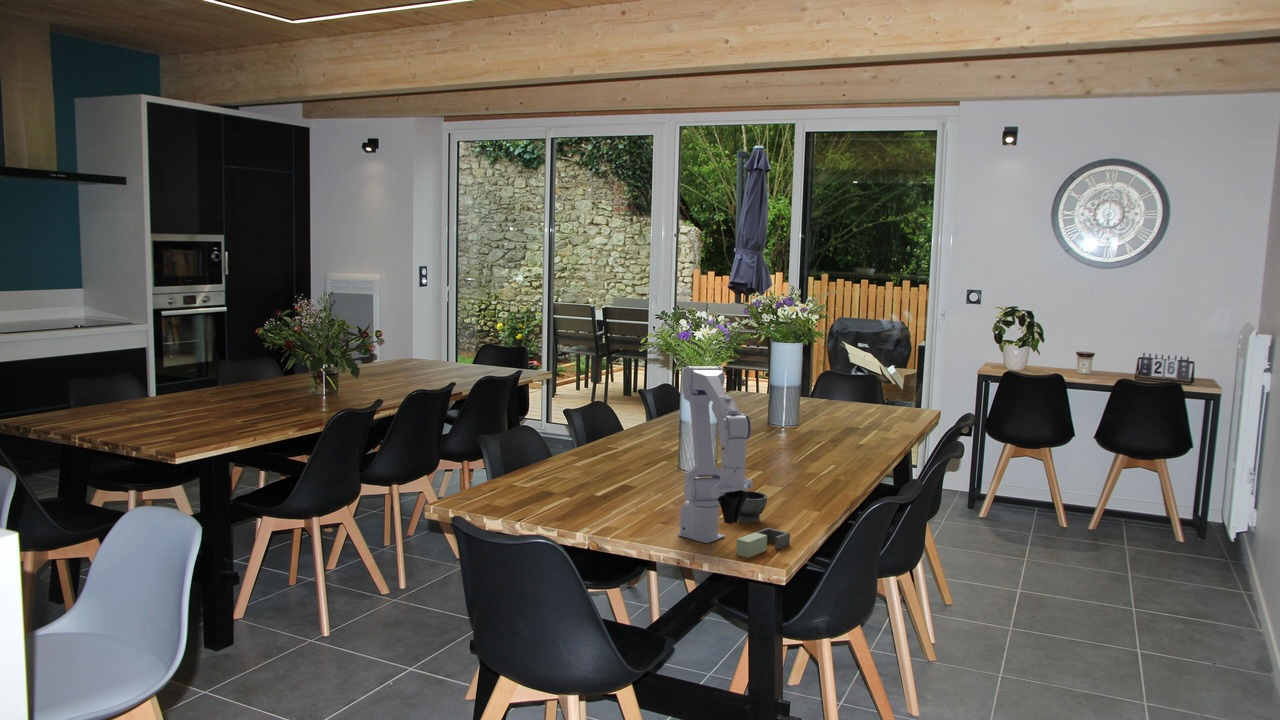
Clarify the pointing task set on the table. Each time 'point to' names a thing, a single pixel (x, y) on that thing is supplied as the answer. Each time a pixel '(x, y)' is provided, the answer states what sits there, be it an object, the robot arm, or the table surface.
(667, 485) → the table surface
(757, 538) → the rectangular block
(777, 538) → the dark grey piece
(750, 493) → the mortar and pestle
